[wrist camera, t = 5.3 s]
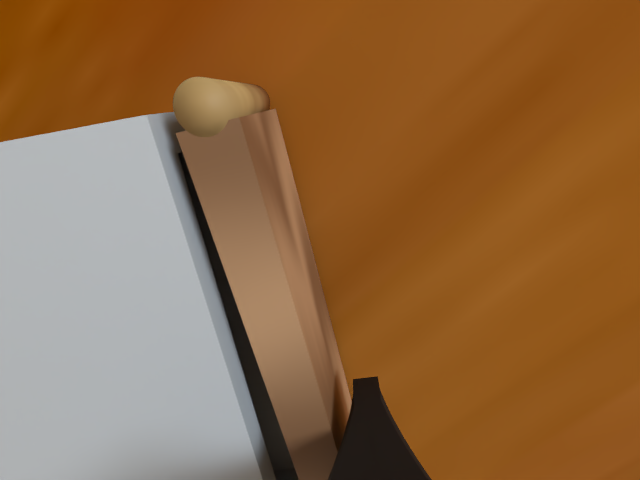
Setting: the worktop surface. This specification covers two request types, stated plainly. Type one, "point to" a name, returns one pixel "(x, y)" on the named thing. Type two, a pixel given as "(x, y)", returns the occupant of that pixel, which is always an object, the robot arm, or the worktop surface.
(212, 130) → the door
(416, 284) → the worktop surface
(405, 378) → the worktop surface
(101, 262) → the cabinet
